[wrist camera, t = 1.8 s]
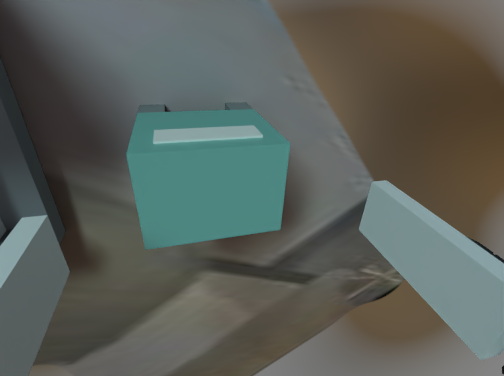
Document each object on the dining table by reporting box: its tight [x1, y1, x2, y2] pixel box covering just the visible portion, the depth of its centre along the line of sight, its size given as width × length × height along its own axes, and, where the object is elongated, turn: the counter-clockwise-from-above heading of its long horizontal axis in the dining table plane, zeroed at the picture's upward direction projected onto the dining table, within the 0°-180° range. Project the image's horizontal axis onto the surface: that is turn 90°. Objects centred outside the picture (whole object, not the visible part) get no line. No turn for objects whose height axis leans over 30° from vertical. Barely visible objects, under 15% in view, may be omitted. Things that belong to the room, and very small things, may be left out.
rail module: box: [126, 103, 290, 250], centre depth 16 cm, size 5×7×8 cm
